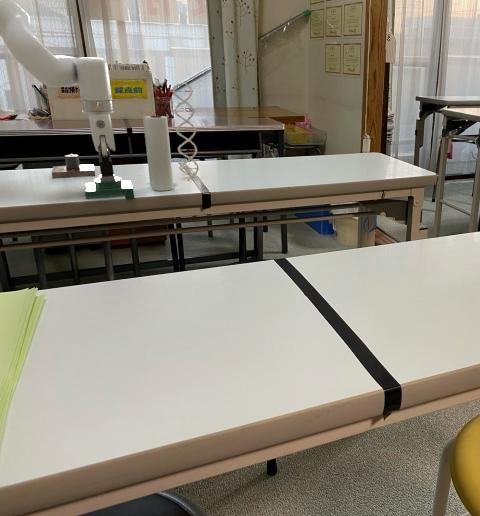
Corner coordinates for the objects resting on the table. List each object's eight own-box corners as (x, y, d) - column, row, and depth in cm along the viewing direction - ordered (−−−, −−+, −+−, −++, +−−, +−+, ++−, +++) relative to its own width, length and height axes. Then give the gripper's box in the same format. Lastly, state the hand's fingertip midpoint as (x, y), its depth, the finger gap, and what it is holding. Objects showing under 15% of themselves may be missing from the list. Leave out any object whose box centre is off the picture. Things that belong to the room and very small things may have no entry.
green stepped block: (87, 203, 139) (84, 184, 137) (86, 194, 147) (83, 177, 145) (134, 199, 144) (132, 181, 142) (131, 191, 152) (129, 174, 150)
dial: (80, 168, 165) (77, 155, 163) (66, 169, 163) (63, 156, 162) (80, 166, 168) (78, 153, 166) (66, 167, 167) (64, 153, 165)
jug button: (100, 184, 141) (99, 177, 141) (100, 181, 145) (99, 174, 144) (116, 183, 143) (115, 176, 142) (115, 180, 146) (114, 173, 146)
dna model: (196, 181, 166) (188, 83, 155) (177, 180, 166) (167, 83, 155) (202, 177, 172) (195, 82, 161) (183, 176, 172) (175, 82, 162)
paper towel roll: (175, 190, 154) (169, 117, 147) (154, 192, 151) (146, 117, 144) (170, 185, 160) (164, 114, 152) (150, 187, 157) (142, 115, 150)
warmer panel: (53, 182, 160) (51, 172, 159) (54, 175, 168) (52, 166, 167) (95, 179, 165) (94, 169, 164) (94, 173, 173) (93, 163, 172)
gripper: (114, 109, 132) (124, 180, 139) (111, 104, 144) (120, 169, 151) (82, 110, 129) (93, 182, 135) (81, 105, 141) (92, 171, 148)
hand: (107, 175), depth 143 cm, fingers closed
